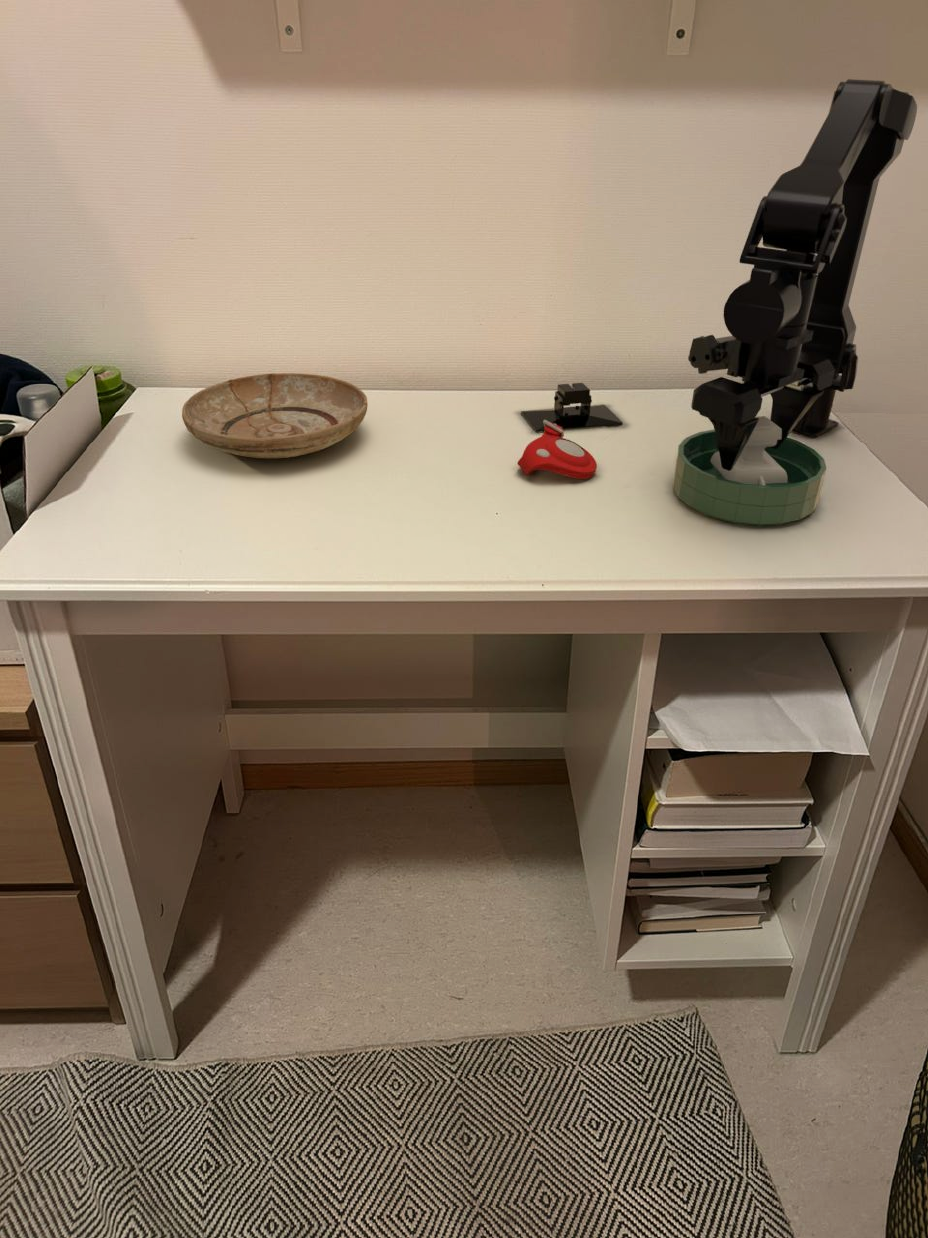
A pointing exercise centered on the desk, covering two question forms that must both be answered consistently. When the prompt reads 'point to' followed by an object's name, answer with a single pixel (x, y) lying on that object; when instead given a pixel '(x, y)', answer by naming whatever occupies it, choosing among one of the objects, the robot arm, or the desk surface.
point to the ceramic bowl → (275, 414)
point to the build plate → (572, 411)
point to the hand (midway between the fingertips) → (750, 458)
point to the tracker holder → (557, 455)
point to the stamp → (756, 458)
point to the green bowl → (748, 500)
